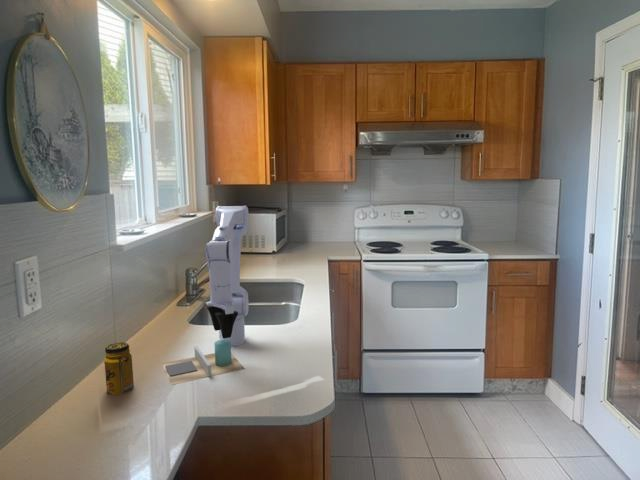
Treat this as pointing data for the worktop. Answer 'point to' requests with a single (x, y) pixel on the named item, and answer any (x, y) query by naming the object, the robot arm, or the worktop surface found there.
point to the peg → (223, 352)
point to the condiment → (118, 368)
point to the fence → (203, 361)
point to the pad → (181, 368)
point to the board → (200, 372)
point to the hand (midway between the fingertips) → (222, 333)
